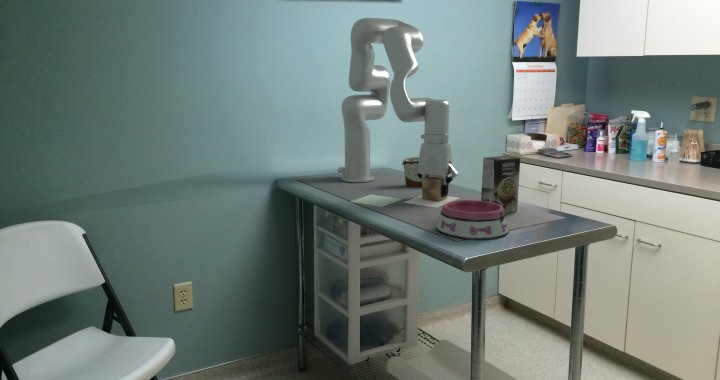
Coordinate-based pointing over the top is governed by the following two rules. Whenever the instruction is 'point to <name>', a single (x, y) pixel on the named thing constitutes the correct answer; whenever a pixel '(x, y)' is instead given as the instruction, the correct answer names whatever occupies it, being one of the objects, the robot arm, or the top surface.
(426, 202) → the card
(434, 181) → the walnut block
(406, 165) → the food container
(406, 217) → the top surface
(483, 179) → the coffee box
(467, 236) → the dog bowl
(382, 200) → the mat
